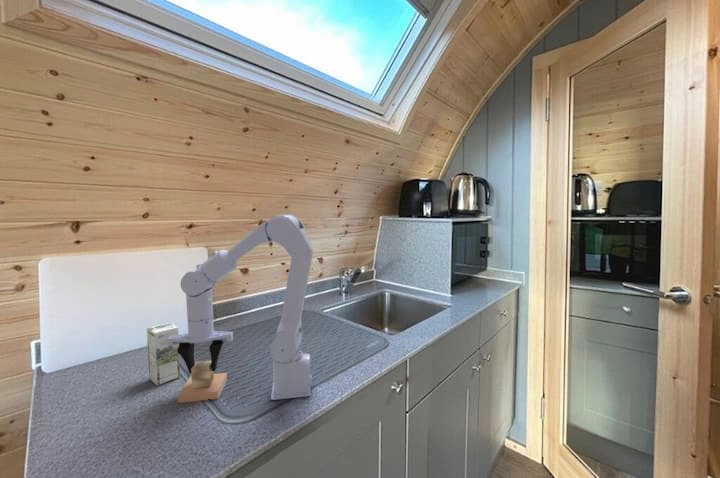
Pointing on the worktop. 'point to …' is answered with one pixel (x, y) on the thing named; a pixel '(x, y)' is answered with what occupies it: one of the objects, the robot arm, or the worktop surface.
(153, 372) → the syrup box
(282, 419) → the worktop surface
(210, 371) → the beech block
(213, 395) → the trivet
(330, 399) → the worktop surface
